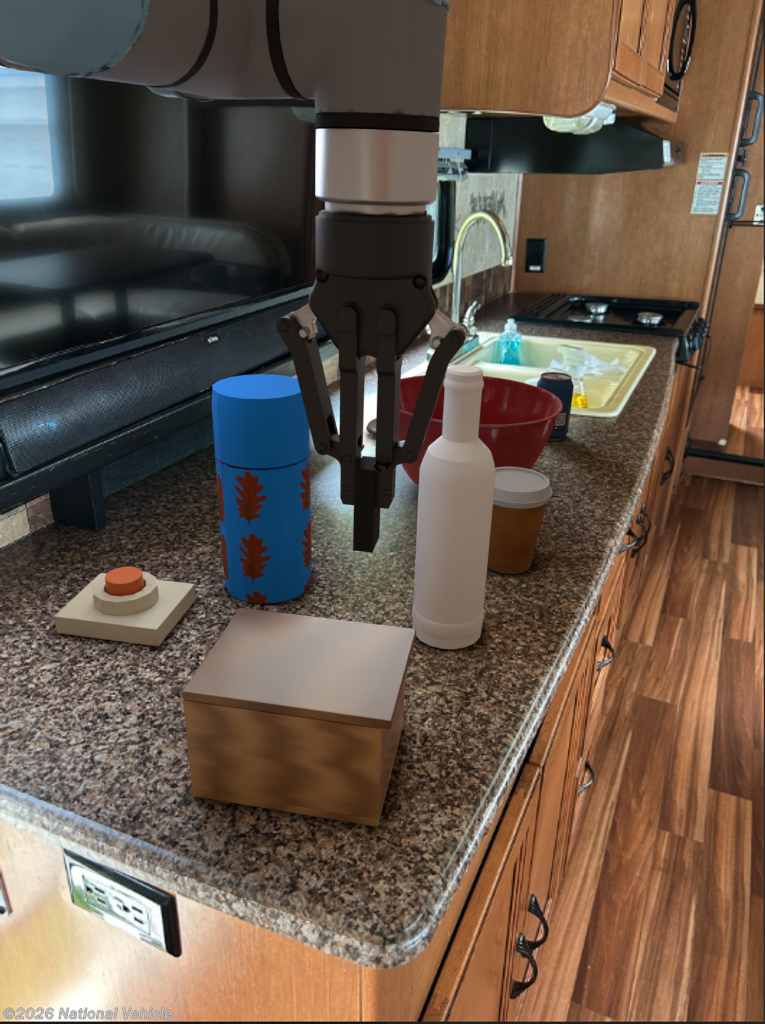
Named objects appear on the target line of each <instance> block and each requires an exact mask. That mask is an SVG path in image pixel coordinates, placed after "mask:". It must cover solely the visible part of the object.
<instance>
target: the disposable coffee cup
mask: <svg viewBox="0 0 765 1024" xmlns="http://www.w3.org/2000/svg"><path fill="white" fill-rule="evenodd" d="M495 469H496V475H495V486H494V497H493V508H492V519H491V530H490V541H489V552H488V563H487V569H489V570H491V571H494V572H495V573H496V572H497V573H501V574H507V575H515V574H517V575H518V574H521V573H525V572H526V571H528V570H529V569H530V568H531V565H532V562H533V557H534V554H535V550H536V546H537V542H538V538H539V535H540V531H541V528H542V522H543V521H544V515H545V512H546V508H547V504H548V502H549V501H550V498H552V496H553V489H552V487H551V482H550V479H549V478H548V477H547V476H546V475H545V474H544V473H542V472H539V471H537V470H534V469H531V470H530V469H526V468H519V467H498V468H495Z"/></svg>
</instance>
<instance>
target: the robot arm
mask: <svg viewBox="0 0 765 1024" xmlns="http://www.w3.org/2000/svg"><path fill="white" fill-rule="evenodd" d="M450 4H451V3H450V1H449V0H0V68H1V69H13V70H16V71H21V72H30V73H38V74H44V75H47V76H48V75H51V76H62V77H63V76H64V77H70V78H84V79H91V80H92V79H93V80H100V81H106V82H107V81H108V82H116V83H123V84H124V83H125V84H131V85H140V86H144V87H146V88H148V89H149V90H150V91H151V92H152V93H154V94H156V95H159V96H161V97H166V98H179V99H181V100H188V101H198V102H200V103H207V102H213V101H215V100H283V99H284V100H286V99H287V100H288V99H289V100H292V99H294V100H297V101H311V100H314V109H315V125H314V126H315V128H316V129H315V181H314V182H315V183H314V184H315V185H314V186H315V187H314V188H315V189H314V192H315V193H314V194H315V197H316V198H317V199H318V200H319V201H320V202H324V209H322V210H319V211H318V215H315V279H314V283H313V285H312V288H311V290H310V291H309V294H308V303H306V304H305V305H303V306H301V307H300V308H299V309H297V310H296V311H295V310H294V311H291V312H288V313H287V314H285V315H283V316H282V317H280V318H279V319H277V321H276V323H275V329H276V330H277V333H278V334H279V336H280V337H281V339H282V341H283V342H284V344H285V346H286V347H287V349H288V351H289V352H290V355H291V358H292V362H293V366H294V371H295V375H296V378H297V379H298V383H299V387H300V391H301V395H302V399H303V403H304V407H305V411H306V415H307V419H308V423H309V427H310V435H311V436H310V437H311V439H312V443H313V444H312V445H313V447H314V451H315V452H316V454H318V455H320V456H329V457H331V458H333V459H335V460H336V461H337V462H338V464H339V466H340V468H339V469H340V470H339V471H340V475H339V476H340V480H339V481H340V484H339V485H340V486H339V487H340V488H339V490H340V491H339V498H340V501H341V504H342V505H346V506H353V518H352V519H353V520H352V523H353V525H352V551H354V552H361V553H370V554H373V553H374V551H375V548H376V546H377V543H378V541H379V539H380V535H381V533H380V532H381V509H386V510H389V509H390V507H391V505H392V503H393V500H394V498H395V495H396V480H397V478H396V475H397V466H399V465H402V464H403V463H409V464H411V463H414V462H415V461H416V460H417V458H418V456H419V454H420V451H421V449H422V447H423V443H424V440H425V437H426V434H427V431H428V428H429V425H430V422H431V418H432V415H433V412H434V409H435V406H436V403H437V400H438V396H439V393H440V390H441V387H442V384H443V381H444V378H445V375H446V371H447V368H449V364H450V362H451V361H452V360H453V358H454V357H455V356H456V354H458V352H459V351H460V350H461V348H462V347H463V345H464V344H465V342H466V339H467V338H468V335H469V329H468V326H467V325H466V324H464V323H463V322H455V321H454V320H452V319H451V318H450V317H448V316H447V315H446V314H444V313H443V312H442V311H441V310H440V309H438V308H439V301H438V296H437V295H436V293H435V290H434V287H433V281H432V279H433V278H432V276H433V261H434V242H435V227H436V221H435V219H433V215H432V214H430V213H428V210H427V206H430V205H433V204H434V203H435V202H436V201H437V192H438V175H439V174H438V171H439V153H440V125H441V121H440V119H441V108H442V107H441V105H442V93H443V92H442V91H443V80H444V79H443V78H444V65H445V54H446V53H445V51H446V39H447V37H446V36H447V25H448V24H447V23H448V13H450V6H451V5H450ZM317 321H318V322H319V324H320V326H321V328H322V329H323V330H324V332H325V333H326V335H327V336H328V338H329V339H330V341H331V343H332V344H333V345H334V347H335V348H336V349H337V350H338V370H339V424H338V425H339V426H337V421H336V419H335V418H336V417H335V414H334V408H333V405H332V404H333V403H332V401H331V400H332V399H331V396H330V395H331V394H330V392H329V387H328V383H327V379H326V374H325V369H324V366H323V362H322V356H321V353H320V349H319V346H318V342H317V340H316V337H315V336H317V334H318V325H317ZM427 326H429V328H430V335H429V337H428V344H429V346H430V348H431V349H432V350H434V352H433V353H432V355H431V357H430V359H429V361H428V365H427V366H426V367H427V368H426V371H425V374H424V375H425V377H424V380H423V383H422V386H421V390H420V393H419V396H418V399H417V403H416V406H415V409H414V412H413V416H412V419H411V422H410V426H409V429H408V432H407V435H406V439H405V440H404V441H400V442H398V434H399V410H400V386H401V379H402V366H403V361H404V360H403V359H404V354H405V353H406V352H407V351H408V349H410V347H411V346H412V344H414V342H415V341H416V339H418V337H419V336H420V334H421V333H422V332H423V331H424V330H425V328H426V327H427ZM367 357H371V358H375V359H376V364H375V365H376V368H375V369H376V375H377V376H376V377H377V378H376V379H377V380H376V382H377V383H376V384H377V385H376V415H375V418H376V435H375V452H374V453H375V455H374V456H367V455H362V452H363V451H364V449H365V446H366V444H364V419H365V418H364V417H365V386H366V385H365V381H366V380H365V377H366V374H365V373H366V363H367ZM338 427H339V428H338ZM338 429H339V430H338Z"/></svg>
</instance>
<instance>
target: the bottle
mask: <svg viewBox="0 0 765 1024" xmlns="http://www.w3.org/2000/svg"><path fill="white" fill-rule="evenodd" d="M483 376H484V371H483V370H482V369H481V367H479V366H476V365H470V364H454V365H450V366H448V368H447V371H446V377H445V380H444V384H443V385H444V388H445V394H444V411H443V428H442V436H440V437H439V438H438V439H437V440H436V441H434V442H433V443H432V444H431V445H429V447H428V449H427V451H426V454H425V456H424V458H423V461H422V463H421V466H420V474H419V486H418V498H417V516H416V517H417V518H416V519H417V520H416V540H415V561H414V562H415V563H414V580H413V581H414V583H413V601H412V602H413V604H412V607H411V618H412V623H411V629H416V639H418V640H419V641H420V642H422V643H424V644H426V645H428V646H430V647H433V648H437V649H441V650H459V649H465V648H467V647H469V646H471V645H474V644H475V643H476V642H477V641H478V640H479V639H480V638H481V634H482V628H483V623H484V616H485V608H484V607H485V594H486V585H487V584H486V583H487V573H488V567H487V563H488V552H489V541H490V530H491V519H492V508H493V497H494V486H495V475H496V469H495V465H494V461H493V457H492V454H491V451H490V450H489V449H488V447H487V446H486V445H485V444H484V443H483V442H482V441H481V440H480V439H479V438H478V432H479V419H480V407H481V394H482V389H483V387H484V381H483Z"/></svg>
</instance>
